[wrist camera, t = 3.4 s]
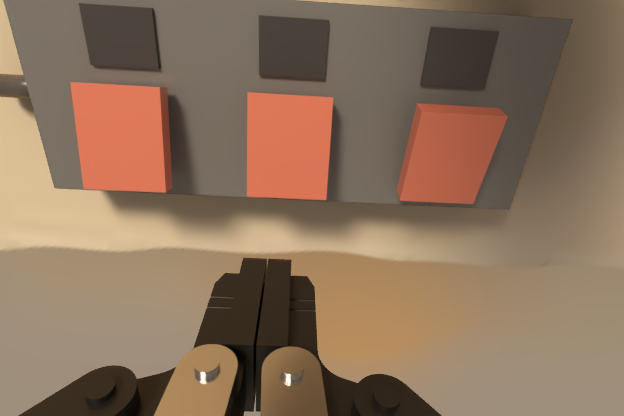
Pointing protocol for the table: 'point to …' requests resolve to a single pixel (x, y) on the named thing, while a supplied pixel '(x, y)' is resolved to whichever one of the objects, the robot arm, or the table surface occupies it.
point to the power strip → (287, 81)
